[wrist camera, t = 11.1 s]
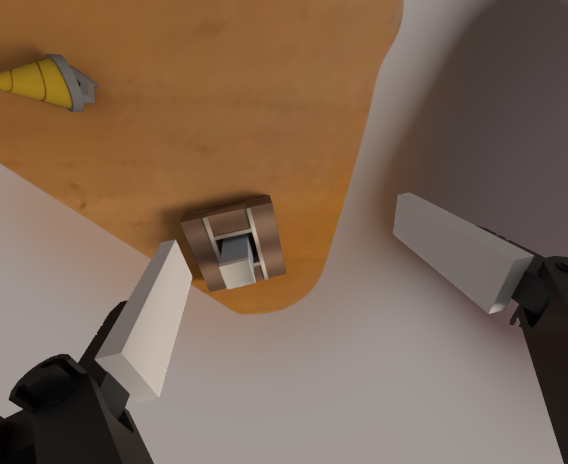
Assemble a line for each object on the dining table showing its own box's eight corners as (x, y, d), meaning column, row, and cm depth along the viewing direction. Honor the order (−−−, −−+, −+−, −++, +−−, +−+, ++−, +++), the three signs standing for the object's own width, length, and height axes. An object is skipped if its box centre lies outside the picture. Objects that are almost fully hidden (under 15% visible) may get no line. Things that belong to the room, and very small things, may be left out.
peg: (223, 233, 39) (218, 267, 30) (247, 227, 39) (248, 260, 31) (230, 252, 41) (227, 289, 32) (252, 247, 41) (255, 282, 33)
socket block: (184, 213, 36) (179, 223, 33) (269, 195, 37) (272, 203, 34) (212, 279, 43) (209, 293, 40) (283, 262, 44) (286, 274, 41)
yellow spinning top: (110, 119, 30) (-1, 126, 23) (87, 83, 29) (-33, 79, 22) (113, 88, 26) (-21, 85, 19) (86, 45, 25) (-60, 26, 18)
